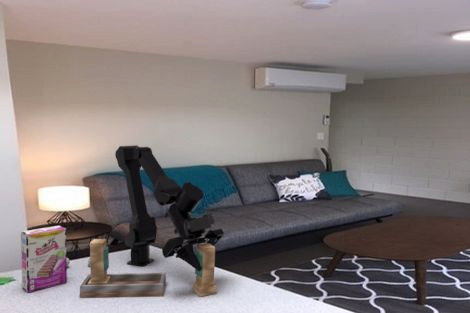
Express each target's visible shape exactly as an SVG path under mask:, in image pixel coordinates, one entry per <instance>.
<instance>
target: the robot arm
mask: <svg viewBox="0 0 470 313" xmlns="http://www.w3.org/2000/svg"><path fill="white" fill-rule="evenodd" d="M114 154H115V159H116V162H117V165H118V167H119V168H120V169H121V171H122V172H123V173H124V175H125V176H124V177H125V180H126V181H125V182H126V187H127V193H128V198H129V205H130V208H131V219H130V222H129V225H128V228H129V231H128V233H127V234H126V235H125V237H124V244H125V246H127V247H129V248H130V260H129V261H126V264H127V265H133V266H140V267H145V266H147V265H148V264H150V263H152V262H154V258H151V257H150V256H151V255H150V254H151V253H150V248H151V247H150V244H155V242H156V239H157V234H158V227H157V223H156V218H155V216H151V215H150V213H148V209H147V208H148V207H147V202H146V197H145V192H144V187H143V181H142V176H141V168H142V169H143V171H144V173H145V174H146V176H147V178H148V179H149V181H150V183H151V184H152V187H153V195H154V198H155V200H156V202H157V204H158V205H159V206H163V207H164V206H168V205H170V206H169V207H168V208H165V213H164V219H167V218H170V220H171V222H172V224H173V226H174V230H173V232H174V235H178V236H177V237H173V238H172V237H171V238H169V239H168V240H166V243H165V244H164V245H163V246H162V249H161V252H162V255H163V257H164V258H165V259H167V258H172V257H174V256H175V258H176V259H178V258H179V259H180V260H182V261H184V262H186V263H187V264H188V265H190V267H193V268H194V270H195V269H197V270H198V271H201V270H202V268H201V266H200V263H199V261H198V259H197V257H196V252H194V246H196V245H198V244H207V243H209V244H211V245H213V246H214V247H215V246H216V245H217V244H218V243H219V242H220V241H221V240H222V238H223V237H224V236H225V235H226V234H225V232H224V230H223V229H222V228H220V227H216V228H212V225H213V224H215V218H214V216H213V215H212V214H211V212H209V213H205V214H203V215H202V217H193V216H192V214H191V213H192V212H193V211H194V210H195V209H196V208H197V206H198V205H199V204H200V202H201V201H202V200H203V198H204V191H203V190H202V189H201V188H199V186H197V185H195V184H192V182H191V181H188V182H184V184H182V187H181V186H180V185H179V184H178V182H177V181H176V180H175V179H172V178H170V177H169V176H168V175H167V174H166V172H165V170H163V168H162V166H161V165H160V163H159V162H158V160H157V158H156V156H155V155H154V153H153V150H152V147H149V146H139V145H137V144H136V145H119V146H118V148H117V149H116V150H115V152H114ZM208 228H211V229H209V230H208V231H207V232H206V229H208ZM205 232H206V234H205V235H203V234H204V233H205ZM216 266H217V261H216V259H215V264H214V268H215V267H216Z"/></svg>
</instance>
